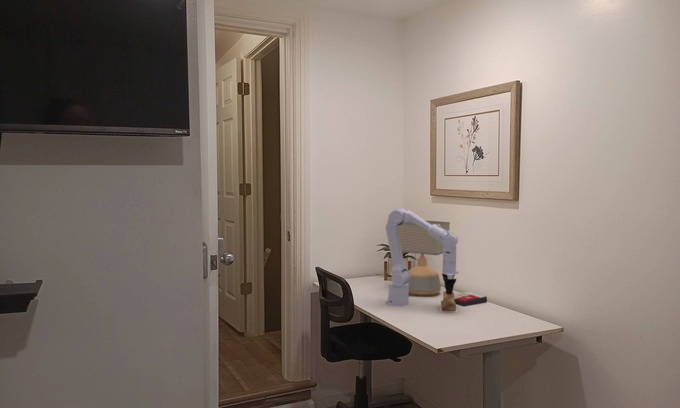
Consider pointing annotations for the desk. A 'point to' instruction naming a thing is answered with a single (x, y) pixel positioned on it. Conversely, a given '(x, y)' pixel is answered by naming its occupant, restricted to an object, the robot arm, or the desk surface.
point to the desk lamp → (421, 257)
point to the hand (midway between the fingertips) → (448, 292)
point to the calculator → (469, 299)
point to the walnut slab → (448, 307)
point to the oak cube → (448, 298)
